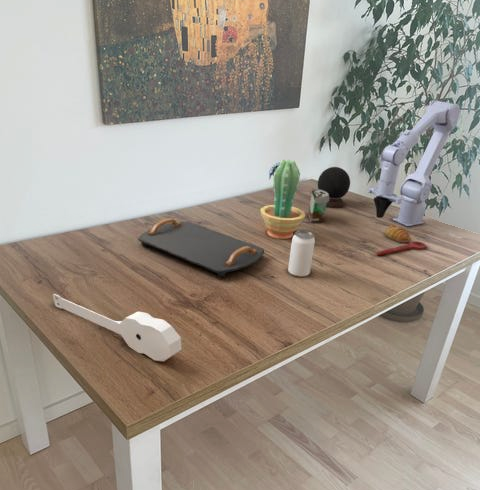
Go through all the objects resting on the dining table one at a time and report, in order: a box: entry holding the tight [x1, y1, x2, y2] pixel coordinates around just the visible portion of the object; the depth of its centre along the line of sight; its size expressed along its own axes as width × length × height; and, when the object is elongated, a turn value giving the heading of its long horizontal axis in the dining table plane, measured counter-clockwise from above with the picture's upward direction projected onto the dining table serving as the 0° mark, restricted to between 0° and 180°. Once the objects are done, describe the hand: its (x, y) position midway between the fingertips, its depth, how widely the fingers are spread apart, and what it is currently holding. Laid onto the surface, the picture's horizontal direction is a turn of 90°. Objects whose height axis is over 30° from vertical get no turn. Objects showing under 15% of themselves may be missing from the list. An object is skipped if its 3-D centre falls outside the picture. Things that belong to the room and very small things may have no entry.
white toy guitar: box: [52, 293, 182, 362], centre depth 107 cm, size 38×8×4 cm
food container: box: [308, 187, 329, 224], centre depth 181 cm, size 12×6×10 cm, turn 179°
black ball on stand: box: [317, 166, 351, 209], centre depth 198 cm, size 13×13×15 cm
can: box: [287, 230, 316, 278], centre depth 139 cm, size 6×6×12 cm
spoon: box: [376, 241, 427, 257], centre depth 162 cm, size 23×5×2 cm, turn 122°
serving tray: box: [137, 218, 265, 280], centre depth 148 cm, size 39×23×6 cm, turn 53°
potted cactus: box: [260, 159, 306, 240], centre depth 161 cm, size 15×15×25 cm
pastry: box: [384, 224, 411, 243], centre depth 171 cm, size 9×7×4 cm
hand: (379, 217), depth 178 cm, fingers closed
